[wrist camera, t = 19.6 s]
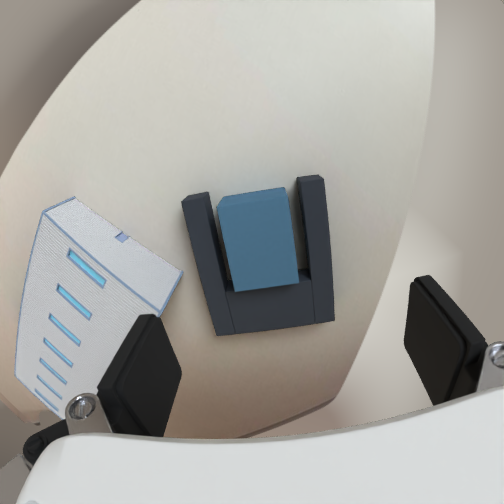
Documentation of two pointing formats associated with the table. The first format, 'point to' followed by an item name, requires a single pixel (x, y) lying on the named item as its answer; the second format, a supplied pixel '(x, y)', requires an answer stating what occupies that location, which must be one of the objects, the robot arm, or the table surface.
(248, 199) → the blue rectangular block
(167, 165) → the table surface
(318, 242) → the dark grey u-frame
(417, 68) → the table surface
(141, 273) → the warehouse
